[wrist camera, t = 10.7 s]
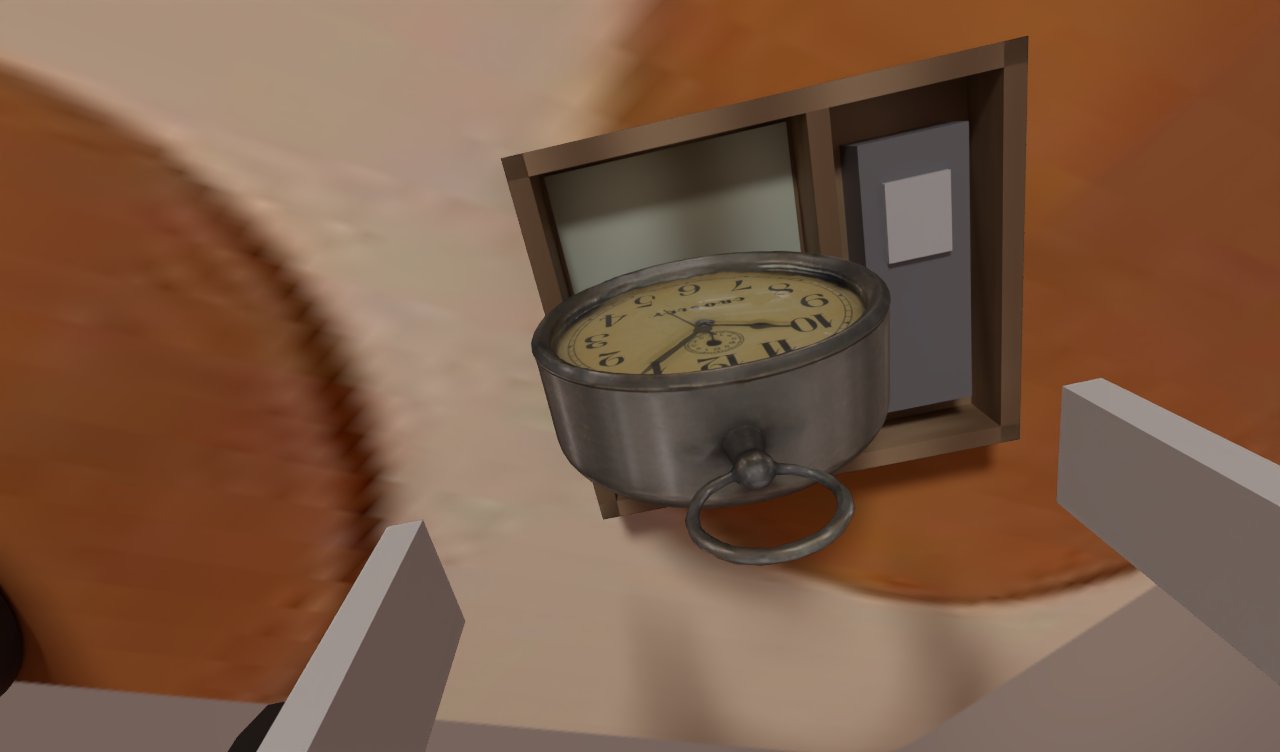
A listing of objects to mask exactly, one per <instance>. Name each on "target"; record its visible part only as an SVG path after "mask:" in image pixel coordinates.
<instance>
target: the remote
mask: <svg viewBox="0 0 1280 752" xmlns="http://www.w3.org/2000/svg"><path fill="white" fill-rule="evenodd" d="M839 149H840V161H841V173H842V184H843V196H844V207H845V219H846V231H847V242H848V254H849V261H851V262H854V263H857V264H860V265H862V266H864V267H866V268H868V269H869V270H871V271H872V272H874V273H876V274H877V275H878V276H879V277H880V278H881V279H882V280H883V281H884V282H885V283H886V285H887V287H888V289H889V292H890V296H891V303H890V403H889V409H888V412H894V411H899V410H904V409H909V408H914V407H919V406H924V405H929V404H934V403H939V402H944V401H949V400H954V399H959V398H964V397H969V396H972V360H971V271H970V182H969V121H954V122H940V123H936V124H931V125H927V126H922V127H918V128H913V129H909V130H905V131H900V132H896V133H891V134H887V135H882V136H878V137H874V138H869V139H865V140H860V141H856V142H851V143H847V144H843V145H839Z"/></svg>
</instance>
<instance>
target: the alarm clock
mask: <svg viewBox="0 0 1280 752" xmlns="http://www.w3.org/2000/svg"><path fill="white" fill-rule="evenodd" d="M890 303H891V296H890V292H889V289H888V287H887V285H886V283H885V282H884V281H883V280H882V279H881V278H880V277H879V276H878V275H877V274H876V273H874V272H872V271H871V270H869V269H868V268H866V267H864V266H862V265H860V264H857V263H854V262H851V261H848V260H845V259H842V258H838V257H833V256H827V255H822V254H814V253H805V252H792V251H753V252H734V253H724V254H714V255H707V256H700V257H694V258H688V259H683V260H678V261H673V262H668V263H664V264H659V265H654V266H651V267H647V268H643V269H640V270H637V271H633V272H630V273H627V274H623V275H620V276H617V277H614V278H612V279H610V280H607V281H604V282H602V283H600V284H598V285H595V286H592V287H590V288H587V289H585V290H583V291H581V292H579V293H577V294H576V295H574V296H572V297H570V298H568V299H566V300H565V301H563V302H561V303H560V304H559V305H558V306H556V307H555V308H554V309H553V310H551V311H550V312H549V313H548V314H547V315H546V316H545V317H544V318H543V320H542V321H541V323H540V324H539V325H538V327H537V329H536V331H535V332H534V335H533V338H532V342H531V346H532V353H533V355H534V357H535V359H536V362H537V365H538V368H539V372H540V375H541V379H542V383H543V387H544V390H545V394H546V398H547V401H548V405H549V408H550V412H551V416H552V420H553V424H554V427H555V431H556V435H557V438H558V441H559V444H560V446H561V449H562V451H563V453H564V454H565V456H566V457H567V459H568V460H569V462H570V463H571V464H572V465H573V466H574V467H575V468H576V469H577V470H578V471H579V472H580V473H581V474H582V475H584V476H585V477H586V478H587V479H589V480H590V481H591V482H593V483H595V484H596V485H598V486H600V487H602V488H604V489H606V490H608V491H610V492H613V493H615V494H618V495H620V496H623V497H626V498H629V499H633V500H636V501H640V502H644V503H649V504H654V505H659V506H666V507H674V508H688V512H687V516H686V520H685V522H686V527H687V530H688V533H689V535H690V537H691V539H692V540H693V542H694V543H695V544H697V545H698V546H699V548H700V549H702V550H704V551H706V552H708V553H710V554H712V555H713V556H715V557H717V558H719V559H722V560H725V561H728V562H731V563H734V564H746V565H760V566H761V565H770V564H777V563H783V562H788V561H794V560H797V559H800V558H803V557H805V556H808V555H810V554H813V553H815V552H818V551H820V550H822V549H824V548H825V547H827V546H828V545H829V544H831V543H832V542H833V541H834V540H836V539H837V538H838V537H839V536H840V535H841V534H842V533H843V532H844V531H845V529H846V527H847V526H848V524H849V522H850V520H851V519H852V517H853V515H854V509H855V507H854V502H853V498H852V495H851V493H850V491H849V490H848V489H847V488H846V487H845V486H844V485H843V484H842V483H841V482H839V481H838V480H837V479H836V478H835V477H834V476H832V475H833V474H835V473H836V472H838V471H839V470H841V469H842V468H844V467H846V466H847V465H848V464H849V463H851V462H852V461H853V460H854V459H855V458H857V457H858V456H859V455H860V454H861V453H862V452H863V451H864V450H865V449H866V448H867V447H868V445H869V444H870V443H871V442H872V441H873V439H874V438H875V437H876V435H877V434H878V432H879V431H880V429H881V427H882V425H883V424H884V421H885V419H886V416H887V413H888V409H889V403H890ZM818 482H819V483H821V484H822V485H824V486H825V487H827V488H828V489H830V490H831V491H832V492H833V493H834V495H835V496H836V499H837V506H838V507H837V510H836V513H835V515H834V516H833V518H832V519H831V521H830V522H829V523H828V524H827V525H826V526H825V527H824V528H822V529H821V530H820V531H818V532H817V533H815V534H813V535H811V536H808V537H806V538H803V539H801V540H798V541H796V542H792V543H789V544H785V545H782V546H779V547H775V548H745V547H738V546H731V545H729V544H726V543H723V542H721V541H719V540H717V539H716V538H714V537H712V536H710V535H709V534H708V533H706V532H705V531H704V530H703V529H702V527H701V524H700V520H699V514H700V510H701V508H721V507H732V506H740V505H746V504H752V503H757V502H762V501H766V500H771V499H775V498H778V497H781V496H785V495H788V494H791V493H794V492H796V491H799V490H802V489H804V488H807V487H809V486H811V485H813V484H816V483H818Z"/></svg>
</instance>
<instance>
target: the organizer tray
mask: <svg viewBox="0 0 1280 752" xmlns="http://www.w3.org/2000/svg"><path fill="white" fill-rule="evenodd" d="M1027 76H1028V36H1025V37H1021V38H1016V39H1012V40H1008V41H1003V42H999V43H995V44H991V45H986V46H982V47H978V48H973V49H969V50H965V51H960V52H956V53H952V54H948V55H943V56H939V57H935V58H930V59H926V60H922V61H917V62H913V63H909V64H905V65H900V66H896V67H892V68H887V69H883V70H879V71H875V72H870V73H866V74H862V75H857V76H853V77H849V78H844V79H840V80H836V81H832V82H827V83H823V84H819V85H814V86H810V87H806V88H801V89H797V90H793V91H789V92H784V93H780V94H776V95H771V96H767V97H763V98H759V99H754V100H750V101H746V102H741V103H737V104H733V105H728V106H724V107H720V108H716V109H711V110H707V111H703V112H698V113H694V114H690V115H685V116H681V117H677V118H673V119H668V120H664V121H660V122H655V123H651V124H647V125H643V126H638V127H634V128H630V129H625V130H621V131H617V132H612V133H608V134H604V135H600V136H595V137H591V138H587V139H582V140H578V141H574V142H569V143H565V144H561V145H557V146H552V147H548V148H544V149H539V150H535V151H531V152H527V153H522V154H518V155H514V156H509V157H505V158H501V161H502V164H503V168H504V171H505V175H506V178H507V182H508V186H509V189H510V193H511V196H512V200H513V203H514V207H515V210H516V214H517V217H518V221H519V224H520V228H521V231H522V235H523V238H524V242H525V245H526V249H527V253H528V256H529V260H530V263H531V267H532V270H533V274H534V277H535V281H536V284H537V288H538V291H539V295H540V298H541V302H542V305H543V309H544V312H545V316H546V315H547V314H548V313H549V312H550V311H551V310H553V309H554V308H555V307H556V306H558V305H559V304H560V303H561V302H563V301H565V300H566V299H568V298H570V297H572V296H574V295H576V294H577V293H579V292H581V291H583V290H585V289H587V288H590V287H592V286H595V285H598V284H600V283H602V282H604V281H607V280H610V279H612V278H614V277H617V276H620V275H623V274H627V273H630V272H633V271H637V270H640V269H643V268H647V267H651V266H654V265H659V264H664V263H668V262H673V261H678V260H683V259H688V258H694V257H700V256H707V255H714V254H724V253H734V252H753V251H792V252H805V253H814V254H822V255H827V256H833V257H838V258H842V259H845V260H848V261H849V254H848V242H847V231H846V219H845V207H844V196H843V184H842V173H841V161H840V149H839V145H843V144H847V143H851V142H856V141H860V140H865V139H869V138H874V137H878V136H882V135H887V134H891V133H896V132H900V131H905V130H909V129H913V128H918V127H922V126H927V125H931V124H936V123H940V122H954V121H969V182H970V271H971V360H972V396H969V397H964V398H959V399H954V400H949V401H944V402H939V403H934V404H929V405H924V406H919V407H914V408H909V409H904V410H899V411H894V412H888V413H887V416H886V419H885V421H884V424H883V425H882V427H881V429H880V431H879V432H878V434H877V435H876V437H875V438H874V439H873V441H872V442H871V443H870V444H869V445H868V447H867V448H866V449H865V450H864V451H863V452H862V453H861V454H860V455H859V456H858V457H857V458H855V459H854V460H853V461H852V462H851V463H849V464H848V465H847V466H846V467H844V468H842V469H841V470H839V471H838V472H836V473H835V474H833V475H837V474H842V473H847V472H852V471H857V470H862V469H868V468H873V467H878V466H883V465H888V464H894V463H899V462H904V461H909V460H914V459H919V458H925V457H930V456H935V455H940V454H945V453H951V452H956V451H961V450H966V449H971V448H976V447H982V446H987V445H992V444H997V443H1002V442H1008V441H1013V440H1018V439H1020V401H1021V354H1022V308H1023V262H1024V215H1025V169H1026V123H1027ZM593 485H594V489H595V492H596V496H597V499H598V503H599V506H600V510H601V514H602V517H603V519H608V518H614V517H619V516H624V515H629V514H634V513H640V512H645V511H650V510H655V509H660V508H665V507H666V506H659V505H654V504H649V503H644V502H640V501H636V500H633V499H629V498H626V497H623V496H620V495H618V494H615V493H613V492H610V491H608V490H606V489H604V488H602V487H600V486H598V485H596V484H595V483H593Z"/></svg>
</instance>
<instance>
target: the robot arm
mask: <svg viewBox="0 0 1280 752" xmlns="http://www.w3.org/2000/svg"><path fill="white" fill-rule="evenodd" d="M1057 503H1058V504H1060V505H1061V506H1062V507H1063V508H1064V509H1066V510H1067V511H1068V512H1069V513H1071V514H1072V515H1073V516H1074V517H1075V518H1077V519H1078V520H1079V521H1080V522H1081V523H1083V524H1084V525H1085V526H1086V527H1088V528H1089V529H1090V530H1091V531H1092V532H1094V533H1095V534H1096V535H1097V536H1098V537H1100V538H1101V539H1102V540H1103V541H1105V542H1106V543H1107V544H1108V545H1109V546H1111V547H1112V548H1113V549H1114V550H1115V551H1117V552H1118V553H1119V554H1120V555H1122V556H1123V557H1124V558H1125V559H1126V560H1128V561H1129V562H1130V563H1131V564H1133V565H1134V566H1135V567H1136V568H1137V569H1139V570H1140V571H1141V572H1142V573H1143V574H1145V575H1146V576H1147V577H1148V578H1150V579H1151V580H1152V581H1153V582H1154V583H1156V584H1157V585H1158V586H1159V587H1160V588H1162V589H1163V590H1164V591H1165V592H1167V593H1168V594H1169V595H1170V596H1172V597H1173V598H1174V599H1175V600H1176V601H1177V602H1179V603H1180V604H1181V605H1182V606H1184V607H1185V608H1186V609H1187V610H1189V611H1190V612H1191V613H1192V614H1193V615H1194V616H1196V617H1197V618H1198V619H1199V620H1201V621H1202V622H1203V623H1204V624H1205V625H1207V626H1208V627H1209V628H1210V629H1212V630H1213V631H1214V632H1215V633H1216V634H1218V635H1219V636H1220V637H1221V638H1222V639H1224V640H1225V641H1226V642H1227V643H1229V644H1230V645H1231V646H1232V647H1233V648H1235V649H1236V650H1237V651H1238V652H1239V653H1241V654H1242V655H1243V656H1244V657H1246V658H1247V659H1248V660H1249V661H1251V662H1252V663H1253V664H1254V665H1255V666H1256V667H1258V668H1259V669H1260V670H1261V671H1263V672H1264V673H1265V674H1266V675H1267V676H1269V677H1270V678H1271V679H1272V680H1273V681H1275V682H1276V683H1277V684H1279V685H1280V466H1279V465H1277V464H1275V463H1273V462H1271V461H1269V460H1267V459H1265V458H1263V457H1261V456H1259V455H1257V454H1255V453H1253V452H1251V451H1249V450H1247V449H1245V448H1243V447H1241V446H1239V445H1237V444H1235V443H1233V442H1231V441H1228V440H1226V439H1224V438H1222V437H1220V436H1218V435H1216V434H1214V433H1212V432H1210V431H1208V430H1206V429H1204V428H1202V427H1200V426H1198V425H1196V424H1194V423H1192V422H1190V421H1188V420H1186V419H1184V418H1182V417H1180V416H1178V415H1176V414H1174V413H1172V412H1170V411H1168V410H1166V409H1164V408H1161V407H1159V406H1157V405H1155V404H1153V403H1151V402H1149V401H1147V400H1145V399H1143V398H1141V397H1139V396H1137V395H1135V394H1133V393H1131V392H1129V391H1127V390H1125V389H1123V388H1121V387H1119V386H1117V385H1115V384H1113V383H1111V382H1109V381H1107V380H1105V379H1103V378H1100V379H1095V380H1090V381H1085V382H1080V383H1076V384H1071V385H1066V386H1063V389H1062V408H1061V427H1060V446H1059V466H1058V485H1057ZM464 623H465V619H464V617H463V614H462V612H461V610H460V607H459V605H458V603H457V600H456V598H455V595H454V593H453V591H452V588H451V586H450V583H449V581H448V579H447V576H446V574H445V571H444V569H443V567H442V564H441V562H440V559H439V557H438V555H437V552H436V550H435V548H434V545H433V543H432V540H431V538H430V536H429V533H428V531H427V528H426V526H425V524H424V521H423V520H419V521H414V522H409V523H405V524H400V525H395V526H390V527H387V528H386V530H385V532H384V533H383V535H382V537H381V539H380V540H379V542H378V544H377V546H376V547H375V549H374V551H373V552H372V554H371V556H370V558H369V559H368V561H367V563H366V564H365V566H364V568H363V570H362V571H361V573H360V575H359V576H358V578H357V580H356V582H355V583H354V585H353V587H352V589H351V590H350V592H349V594H348V595H347V597H346V599H345V601H344V602H343V604H342V606H341V607H340V609H339V611H338V613H337V614H336V616H335V618H334V619H333V621H332V623H331V625H330V626H329V628H328V630H327V632H326V633H325V635H324V637H323V638H322V640H321V642H320V644H319V645H318V647H317V649H316V650H315V652H314V654H313V656H312V657H311V659H310V661H309V662H308V664H307V666H306V668H305V669H304V671H303V673H302V675H301V676H300V678H299V680H298V681H297V683H296V685H295V687H294V688H293V690H292V692H291V693H290V695H289V697H288V699H287V700H286V702H281V703H276V704H271V705H267V706H266V708H265V709H264V710H263V711H262V712H261V713H260V714H259V715H258V716H257V717H256V718H255V719H254V720H253V721H252V722H251V723H250V724H249V725H248V726H247V727H246V728H245V729H244V730H243V732H241V734H240V735H239V736H238V737H237V738H236V740H235V741H234V743H233V745H232V746H231V747H230V749H229V751H228V752H425V750H426V747H427V743H428V740H429V737H430V734H431V731H432V727H433V724H434V721H435V718H436V714H437V711H438V708H439V705H440V701H441V698H442V695H443V692H444V688H445V685H446V682H447V678H448V675H449V672H450V669H451V665H452V662H453V659H454V656H455V652H456V649H457V646H458V643H459V639H460V636H461V633H462V630H463V626H464ZM21 659H22V643H21V637H20V632H19V629H18V626H17V623H16V621H15V618H14V616H13V614H12V612H11V610H10V608H9V606H8V604H7V603H6V601H5V600H4V598H3V597H2V595H1V594H0V696H1V695H2V694H4V693H5V692H6V691H7V690H8V688H9V687H10V686H11V685H12V683H13V682H14V680H15V678H16V676H17V674H18V671H19V669H20V664H21Z"/></svg>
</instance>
